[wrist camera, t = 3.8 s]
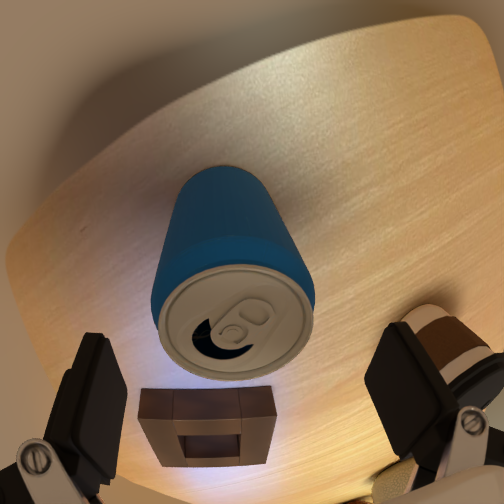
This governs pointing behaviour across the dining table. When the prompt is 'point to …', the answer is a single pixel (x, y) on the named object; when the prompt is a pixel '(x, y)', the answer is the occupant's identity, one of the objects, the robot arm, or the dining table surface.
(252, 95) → the dining table surface
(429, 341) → the coffee cup
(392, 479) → the planter
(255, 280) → the beverage can
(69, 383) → the robot arm
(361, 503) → the bowl
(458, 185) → the dining table surface
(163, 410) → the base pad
